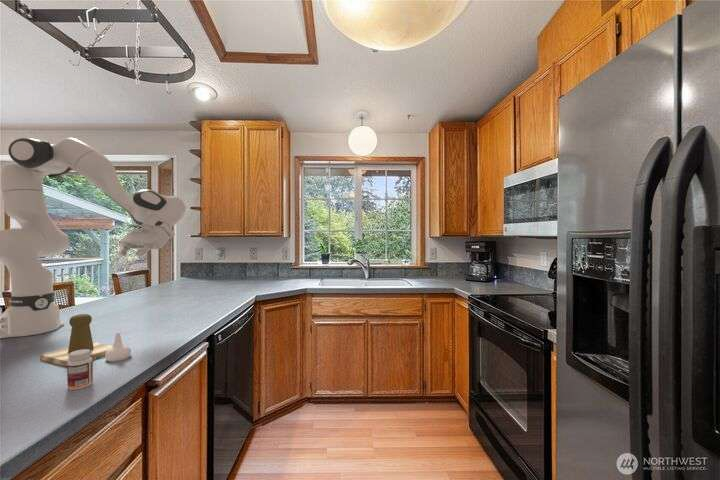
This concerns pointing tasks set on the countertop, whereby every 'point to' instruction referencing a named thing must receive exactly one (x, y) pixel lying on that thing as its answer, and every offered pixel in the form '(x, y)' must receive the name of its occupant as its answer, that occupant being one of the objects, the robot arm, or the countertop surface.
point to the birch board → (63, 356)
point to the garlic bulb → (118, 350)
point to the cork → (80, 333)
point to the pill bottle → (79, 369)
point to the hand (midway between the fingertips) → (129, 255)
